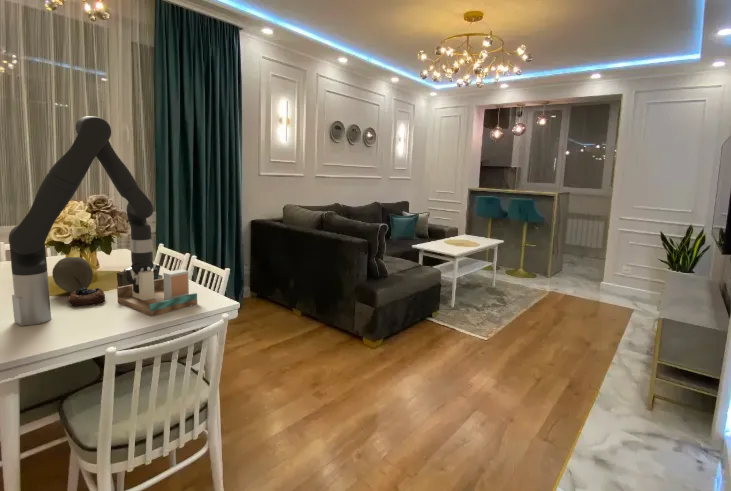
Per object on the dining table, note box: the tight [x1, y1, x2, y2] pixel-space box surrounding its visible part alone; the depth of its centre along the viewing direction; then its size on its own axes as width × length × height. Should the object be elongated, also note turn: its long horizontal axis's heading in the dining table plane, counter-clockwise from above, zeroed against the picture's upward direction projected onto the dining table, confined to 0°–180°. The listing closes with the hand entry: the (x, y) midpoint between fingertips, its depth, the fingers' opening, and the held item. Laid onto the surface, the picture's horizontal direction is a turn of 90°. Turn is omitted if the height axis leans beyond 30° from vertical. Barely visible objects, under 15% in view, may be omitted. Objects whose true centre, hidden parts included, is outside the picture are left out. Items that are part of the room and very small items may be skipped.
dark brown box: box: [116, 270, 164, 287], centre depth 185 cm, size 8×19×7 cm, turn 71°
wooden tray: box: [116, 277, 198, 317], centre depth 166 cm, size 19×24×6 cm
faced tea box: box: [162, 268, 190, 300], centre depth 166 cm, size 8×5×11 cm, turn 147°
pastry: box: [67, 287, 106, 308], centre depth 162 cm, size 11×12×6 cm
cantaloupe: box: [52, 256, 94, 294], centre depth 171 cm, size 14×14×15 cm
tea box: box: [132, 270, 154, 301], centre depth 165 cm, size 8×5×11 cm, turn 57°
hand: (143, 291), depth 166 cm, fingers closed on tea box, 4 cm apart
